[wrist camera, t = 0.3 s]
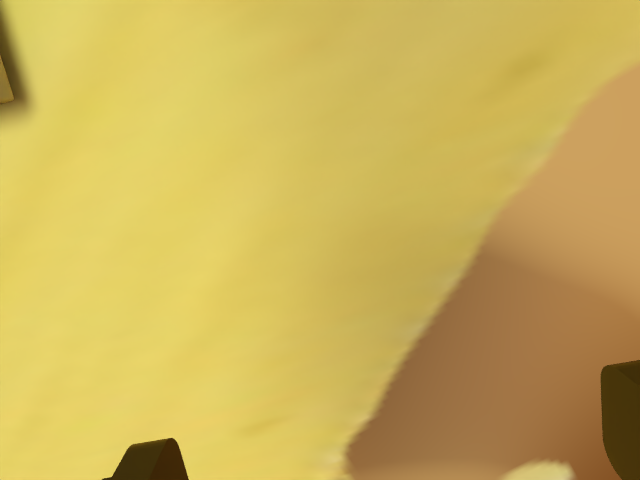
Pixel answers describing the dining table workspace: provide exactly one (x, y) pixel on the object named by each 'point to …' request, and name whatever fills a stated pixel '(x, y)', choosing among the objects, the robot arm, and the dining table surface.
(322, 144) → the dining table surface
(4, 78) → the cylinder
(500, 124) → the dining table surface
